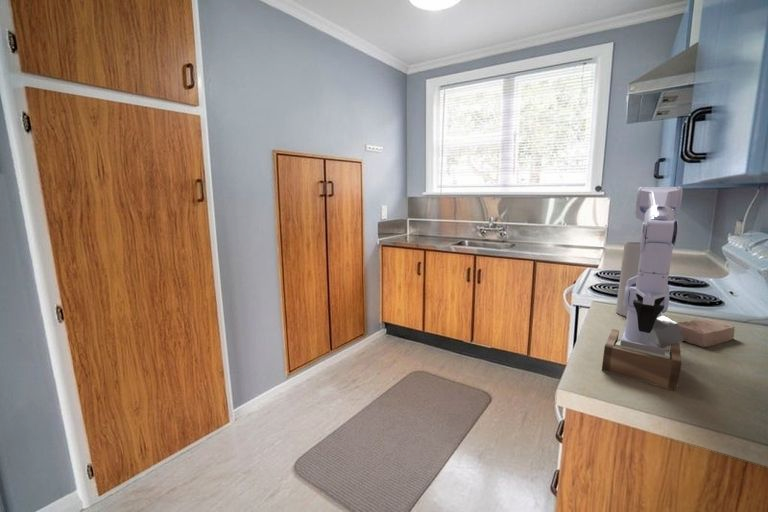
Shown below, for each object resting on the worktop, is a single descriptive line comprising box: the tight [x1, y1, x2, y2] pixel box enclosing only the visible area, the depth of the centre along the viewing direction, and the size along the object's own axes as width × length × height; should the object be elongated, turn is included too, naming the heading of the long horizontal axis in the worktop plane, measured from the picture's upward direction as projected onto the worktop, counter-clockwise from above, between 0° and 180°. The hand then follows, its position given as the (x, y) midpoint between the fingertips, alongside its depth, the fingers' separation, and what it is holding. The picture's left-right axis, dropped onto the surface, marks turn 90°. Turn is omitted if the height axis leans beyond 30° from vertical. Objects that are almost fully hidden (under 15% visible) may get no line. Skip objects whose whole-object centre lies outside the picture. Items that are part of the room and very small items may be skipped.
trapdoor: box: [615, 338, 670, 359], centre depth 81 cm, size 12×10×2 cm
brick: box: [676, 317, 736, 348], centre depth 100 cm, size 17×8×5 cm, turn 113°
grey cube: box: [646, 315, 684, 349], centre depth 82 cm, size 4×5×5 cm
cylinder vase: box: [615, 241, 662, 318], centre depth 117 cm, size 12×12×25 cm
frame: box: [601, 328, 682, 392], centre depth 81 cm, size 14×14×6 cm
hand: (645, 327), depth 82 cm, fingers open, 7 cm apart
